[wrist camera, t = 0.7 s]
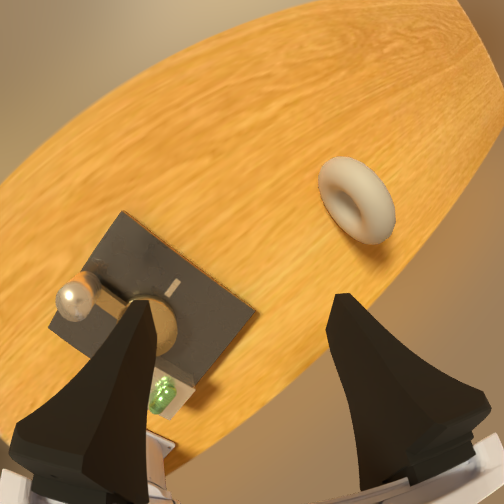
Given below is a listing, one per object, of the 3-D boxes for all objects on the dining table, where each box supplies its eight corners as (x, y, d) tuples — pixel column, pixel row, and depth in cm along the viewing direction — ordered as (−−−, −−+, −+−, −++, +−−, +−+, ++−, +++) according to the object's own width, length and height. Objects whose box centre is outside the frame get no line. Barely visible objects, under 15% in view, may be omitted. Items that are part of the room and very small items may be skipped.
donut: (298, 171, 33) (347, 161, 24) (320, 156, 34) (374, 143, 24) (339, 244, 36) (394, 258, 27) (359, 228, 37) (416, 237, 27)
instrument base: (174, 401, 33) (178, 433, 28) (52, 322, 28) (33, 345, 22) (251, 306, 34) (269, 326, 28) (123, 210, 29) (114, 211, 23)
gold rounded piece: (187, 316, 31) (195, 346, 24) (155, 358, 30) (156, 395, 24) (95, 248, 27) (76, 261, 21) (65, 296, 27) (42, 320, 20)
